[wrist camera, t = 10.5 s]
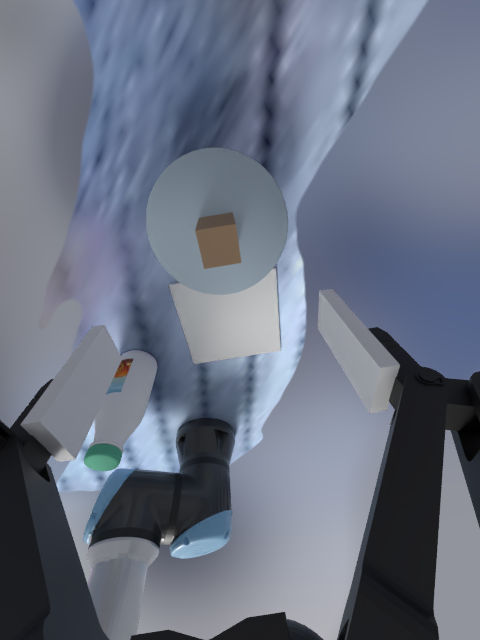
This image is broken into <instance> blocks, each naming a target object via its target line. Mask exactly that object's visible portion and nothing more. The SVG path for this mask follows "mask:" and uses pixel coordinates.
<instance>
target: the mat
mask: <svg viewBox="0 0 480 640" xmlns="http://www.w3.org/2000/svg"><path fill="white" fill-rule="evenodd" d="M169 288H170V291H171V294H172V297H173V300H174V304H175V307H176V310H177V313H178V316H179V319H180V322H181V325H182V328H183V332H184V335H185V338H186V341H187V344H188V347H189V350H190V353H191V356H192V359H193V363H194V364H199V363H205V362H212V361H218V360H225V359H231V358H238V357H244V356H250V355H257V354H263V353H270V352H276V351H281V349H280V332H279V314H278V297H277V280H276V268H275V267H274V268H273V269H272V270H271V271H270V272H269V273H268V274H267V275H266V277H264V278H263V279H262V280H261V281H260V282H258V283H257V284H255V285H253V286H252V287H250V288H248V289H246V290H243V291H240V292H237V293H232V294H226V295H212V294H205V293H201V292H198V291H195V290H192V289H190V288H188V287H186V286H184V285H182V284H181V283H172V284H169Z"/></svg>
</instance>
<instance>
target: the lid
mask: <svg viewBox="0 0 480 640" xmlns="http://www.w3.org/2000/svg"><path fill="white" fill-rule="evenodd" d="M146 229H147V235H148V239H149V242H150V245H151V248H152V250H153V253H154V254H155V256H156V258H157V260H158V261H159V263H160V264H161V266H162V267H163V268H164V269H165V270H166V271H167V273H168V274H169V275H170V276H172V277H173V278H174V279H175V280H176V281H178V282H179V283H181V284H182V285H184V286H186V287H188V288H190V289H192V290H195V291H198V292H201V293H205V294H212V295H226V294H232V293H237V292H240V291H243V290H246V289H248V288H250V287H252V286H253V285H255V284H257V283H258V282H260V281H261V280H262V279H263V278H264V277H266V275H267V274H268V273H269V272H270V271H271V270H272V269H273V267H274V266H275V265H276V263H277V261H278V260H279V258H280V256H281V254H282V251H283V249H284V246H285V242H286V238H287V232H288V216H287V209H286V204H285V201H284V198H283V195H282V192H281V190H280V188H279V187H278V185H277V183H276V181H275V180H274V179H273V177H272V176H271V174H270V173H269V172H268V171H267V170H266V169H265V168H264V167H263V166H262V165H260V164H259V163H258V162H257V161H255V160H254V159H252V158H251V157H249V156H247V155H245V154H243V153H240V152H238V151H235V150H231V149H226V148H215V147H213V148H203V149H199V150H195V151H192V152H189V153H187V154H185V155H183V156H181V157H180V158H178V159H176V160H175V161H173V162H172V163H171V164H170V165H169V166H168V167H167V168H166V169H165V170H164V171H163V172H162V173H161V175H160V176H159V177H158V179H157V181H156V182H155V184H154V186H153V188H152V191H151V193H150V196H149V199H148V203H147V210H146Z"/></svg>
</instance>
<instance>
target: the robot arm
mask: <svg viewBox="0 0 480 640" xmlns="http://www.w3.org/2000/svg"><path fill="white" fill-rule="evenodd" d="M318 329H319V331H320V332H321V334H322V336H323V337H324V339H325V341H326V342H327V344H328V346H329V347H330V349H331V351H332V352H333V354H334V355H335V357H336V359H337V361H338V362H339V364H340V366H341V367H342V369H343V370H344V372H345V374H346V375H347V377H348V379H349V380H350V382H351V384H352V385H353V387H354V389H355V390H356V392H357V394H358V395H359V397H360V398H361V400H362V402H363V403H364V405H365V407H366V408H367V410H368V412H369V413H375V412H381V411H387V408H388V404H389V402H390V403H391V405H392V406H393V407H394V409H395V411H394V414H393V417H392V420H391V423H390V425H391V426H390V431H389V435H388V439H387V443H386V447H385V451H384V455H383V459H382V463H381V467H380V472H379V475H378V479H377V484H376V488H375V491H374V496H373V500H372V504H371V508H370V512H369V516H368V520H367V524H366V528H365V532H364V536H363V540H362V544H361V548H360V553H359V557H358V561H357V565H356V569H355V573H354V577H353V581H352V585H351V589H350V593H349V596H348V600H347V603H346V607H345V610H344V614H343V618H342V622H341V626H340V630H339V634H338V638H337V640H439V634H438V626H437V623H436V620H435V617H434V611H433V605H434V588H435V573H436V558H437V544H438V529H439V514H440V499H441V485H442V469H443V455H444V440H445V430H451V433H452V436H453V439H454V443H455V446H456V450H457V453H458V456H459V460H460V463H461V466H462V470H463V473H464V476H465V480H466V483H467V487H468V490H469V493H470V497H471V500H472V503H473V507H474V510H475V514H476V517H477V520H478V523H479V527H480V372H476V373H474V374H473V375H472V376H471V377H470V380H459V379H448V378H445V377H444V376H443V375H442V374H440V373H439V372H437V371H435V370H433V369H430V368H426V367H421V366H420V365H419V364H418V363H417V362H416V361H415V360H414V359H413V358H412V357H411V356H410V355H409V354H408V353H407V352H406V351H405V350H404V349H403V348H402V347H400V346H399V344H398V343H397V342H396V341H394V339H393V338H392V337H391V336H390V335H389V334H388V333H387V332H385V331H383V330H381V329H380V328H378V327H376V328H369V329H368V328H367V327H366V326H365V325H364V324H363V323H362V322H361V321H360V320H359V318H358V317H357V316H356V315H355V314H354V313H353V312H352V311H351V310H350V308H349V307H348V306H347V305H346V304H345V303H344V302H343V301H342V299H341V298H340V297H339V296H338V295H337V294H336V293H335V292H334V291H333V289H328V290H322V291H319V312H318ZM121 361H122V357H121V355H120V353H119V352H118V350H117V348H116V346H115V344H114V342H113V340H112V338H111V336H110V334H109V333H108V331H107V329H106V327H105V325H101V326H95V327H92V328H91V329H90V330H89V332H88V333H87V334H86V336H85V337H84V339H83V340H82V341H81V343H80V344H79V345H78V347H77V348H76V349H75V351H74V352H73V354H72V355H71V356H70V358H69V359H68V360H67V362H66V363H65V365H64V366H63V367H62V369H61V370H60V372H59V373H58V374H57V375H56V377H55V378H54V379H51V380H50V381H49V382H47V383H46V384H45V385H44V386H43V387H41V389H40V390H39V391H38V392H37V394H36V395H35V396H34V398H33V399H32V400H31V402H30V403H29V406H27V407H26V408H25V410H24V411H23V412H22V413H21V415H20V416H19V417H18V419H17V420H16V421H15V423H14V424H13V425H12V427H11V428H10V429H9V428H8V427H7V426H6V425H5V424H4V423H2V421H1V420H0V640H203V639H199V638H196V637H192V636H188V635H185V634H182V633H178V632H175V631H171V630H164V631H158V632H151V633H145V634H138V635H137V630H138V623H139V617H140V611H141V604H142V599H143V593H144V586H145V580H146V574H147V568H148V566H149V565H150V564H151V563H152V562H153V561H154V560H155V559H156V558H157V556H158V554H159V547H160V545H161V544H167V545H170V553H171V555H172V556H173V557H175V558H178V557H179V558H193V557H198V556H202V555H205V554H208V553H211V552H213V551H216V550H218V549H219V548H221V547H223V546H224V545H225V544H226V543H227V542H228V540H229V538H230V536H231V516H232V511H231V494H230V493H231V492H230V473H229V464H230V460H231V456H232V452H233V448H234V444H235V434H234V430H233V428H232V427H231V426H230V425H229V424H227V423H225V422H223V421H220V420H217V419H198V420H194V421H191V422H188V423H186V424H185V425H183V426H182V427H181V428H180V429H179V431H178V433H177V438H176V448H177V453H178V458H179V463H180V472H179V473H172V472H161V471H151V470H141V469H138V468H134V469H117V470H115V471H114V472H113V473H112V474H111V475H110V476H109V477H108V479H107V481H106V482H105V484H104V486H103V488H102V490H101V492H100V494H99V496H98V499H97V501H96V503H95V505H94V508H93V510H92V514H91V516H90V518H89V520H88V523H87V525H86V528H85V532H84V536H83V541H84V542H86V543H87V544H90V545H89V548H88V551H87V559H88V561H89V563H90V565H91V567H92V571H91V574H90V578H89V581H88V584H87V582H86V578H85V575H84V572H83V569H82V566H81V562H80V559H79V556H78V553H77V550H76V547H75V543H74V540H73V537H72V534H71V531H70V527H69V524H68V521H67V518H66V515H65V511H64V508H63V505H62V502H61V499H60V496H59V492H58V489H57V486H56V483H55V480H54V477H53V473H52V470H51V467H50V466H49V465H48V464H47V461H48V459H49V458H50V456H51V455H52V456H53V457H54V458H55V459H56V460H57V461H58V462H62V461H68V460H75V459H76V457H77V455H78V453H79V451H80V449H81V447H82V444H83V442H84V440H85V438H86V436H87V434H88V432H89V429H90V427H91V425H92V423H93V421H94V419H95V416H96V414H97V412H98V410H99V408H100V406H101V404H102V401H103V399H104V397H105V395H106V393H107V391H108V389H109V386H110V384H111V382H112V380H113V378H114V376H115V373H116V371H117V369H118V367H119V365H120V363H121ZM210 640H323V639H322V638H321V637H320V636H319V635H318V634H317V633H315V632H314V631H312V630H311V629H309V628H308V627H306V626H305V625H302V624H300V623H298V622H296V621H292V620H289V619H286V615H285V612H281V613H275V614H268V615H262V616H256V617H249V618H246V619H244V620H243V621H241V622H239V623H237V624H236V625H234V626H232V627H231V628H229V629H227V630H226V631H224V632H222V633H220V634H219V635H217V636H215V637H214V638H212V639H210Z"/></svg>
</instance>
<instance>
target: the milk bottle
mask: <svg viewBox="0 0 480 640" xmlns="http://www.w3.org/2000/svg"><path fill="white" fill-rule="evenodd" d="M121 357H122V361H121V363H120V365H119V367H118V369H117V371H116V373H115V376H114V378H113V380H112V382H111V384H110V386H109V389H108V391H107V393H106V395H105V397H104V399H103V401H102V404H101V406H100V408H99V410H98V412H97V414H96V416H95V419H94V423H95V437H94V442H93V443H91V444H90V446H89V449H88V451H87V453H86V455H85V458H84V463H85V465H86V466H87V467H89V468H91V469H93V470H97V471H109V470H113V469H115V468H116V467H117V466H118V465H119V463H120V460H121V457H122V453H123V451H124V449H123V446H124V444H125V442H126V440H127V439H128V438H129V436H130V435H131V434H132V433H133V432H134V431H135V429H136V428H137V427H138V426H139V424H140V422H141V421H142V419H143V416H144V414H145V411H146V408H147V404H148V401H149V398H150V394H151V391H152V387H153V383H154V380H155V376H156V372H157V367H158V366H157V362H156V360H155V358H154V357H153V356H152V355H150V354H149V353H147V352H144V351H141V350H131V351H128V352H125V353H124V354H122V355H121Z"/></svg>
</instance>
